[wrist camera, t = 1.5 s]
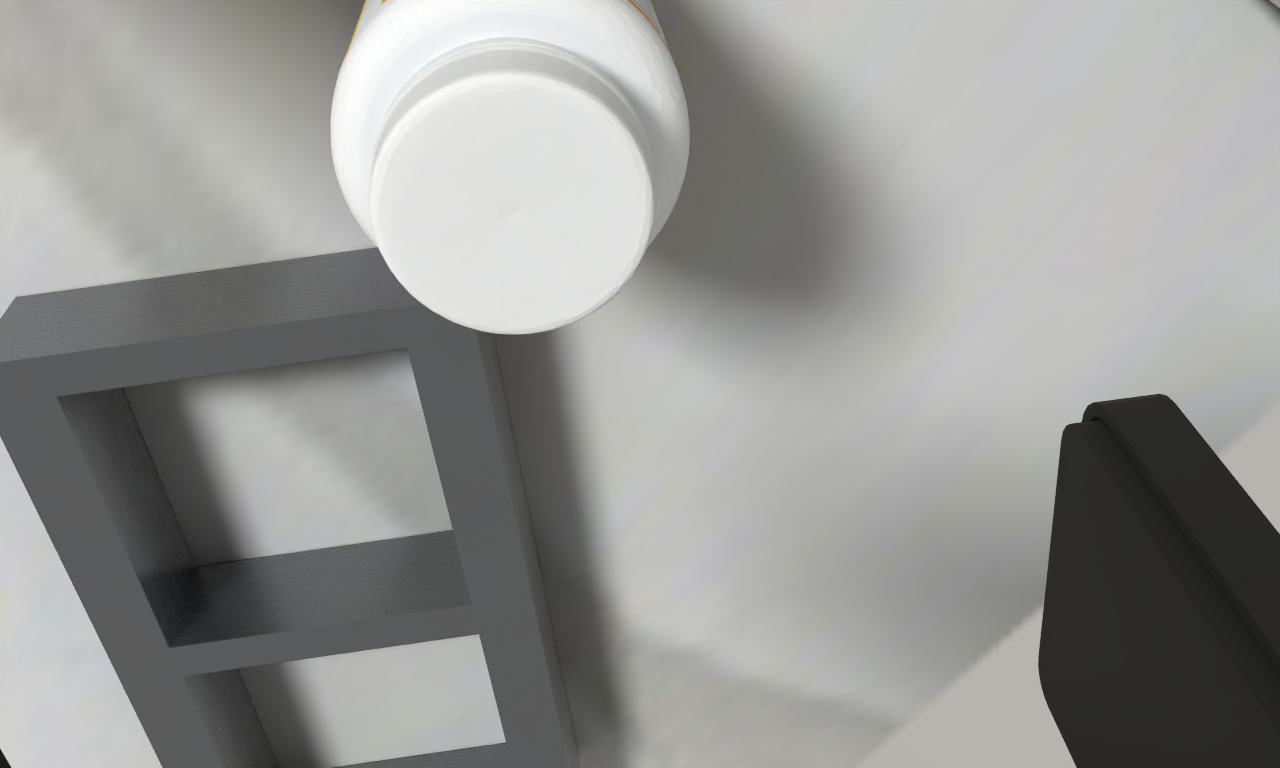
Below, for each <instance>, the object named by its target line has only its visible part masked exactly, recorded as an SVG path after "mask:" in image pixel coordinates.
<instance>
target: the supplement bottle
mask: <svg viewBox="0 0 1280 768" xmlns="http://www.w3.org/2000/svg"><path fill="white" fill-rule="evenodd" d="M330 131H331V150H332V158H333V163H334V168H335V172H336V176H337V179H338V182H339V185H340V188H341V190H342V193H343V195H344V198H345V200H346V202H347V204H348V206H349V209H350V211H351V213H352V214H353V216H354V217H355V219H356V220H357V222H358V223H359V225H360V226H361V228H362V229H363V231H364V232H365V233H366V234H367V236H368V237H369V238H370V239H371V241H372V242H373V243H374V244H375V245H376V246H377V247H378V248H379V250H380V252H381V254H382V256H383V258H384V260H385V261H386V263H387V265H388V267H389V268H390V270H391V271H392V273H393V274H394V275H395V277H396V278H397V280H398V281H399V282H400V283H401V284H402V285H403V286H404V288H405V289H406V290H407V291H408V292H409V293H410V294H411V295H412V296H413V297H414V298H416V299H417V300H418V301H419V302H421V303H422V304H423V305H425V306H426V307H428V308H429V309H430V310H432V311H433V312H435V313H437V314H439V315H441V316H443V317H445V318H446V319H448V320H450V321H452V322H454V323H457V324H460V325H463V326H466V327H469V328H473V329H476V330H480V331H484V332H490V333H496V334H533V333H539V332H545V331H549V330H553V329H557V328H560V327H563V326H567V325H569V324H571V323H574V322H576V321H578V320H581V319H583V318H584V317H586V316H588V315H590V314H591V313H593V312H595V311H596V310H598V309H599V308H601V307H602V306H604V305H605V304H606V303H607V302H609V301H610V300H611V299H612V298H613V297H614V296H615V295H616V294H617V293H619V292H620V291H621V289H622V288H623V287H624V286H625V285H626V283H627V282H628V281H629V280H630V278H631V277H632V275H633V273H634V272H635V271H636V269H637V268H638V266H639V265H640V263H641V260H642V258H643V256H644V254H645V252H646V249H647V247H648V246H649V245H650V244H651V243H652V241H653V240H654V239H655V238H656V236H657V235H658V234H659V232H660V231H661V229H662V228H663V226H664V225H665V223H666V222H667V220H668V218H669V216H670V214H671V212H672V211H673V209H674V206H675V204H676V202H677V200H678V197H679V193H680V191H681V187H682V184H683V181H684V178H685V173H686V168H687V164H688V157H689V147H690V127H689V117H688V108H687V104H686V99H685V95H684V91H683V87H682V83H681V80H680V77H679V74H678V71H677V68H676V65H675V63H674V60H673V58H672V55H671V53H670V50H669V48H668V45H667V42H666V40H665V37H664V34H663V31H662V29H661V26H660V23H659V21H658V18H657V16H656V13H655V11H654V8H653V5H652V2H651V0H365V2H364V4H363V7H362V10H361V13H360V16H359V19H358V21H357V24H356V27H355V30H354V33H353V35H352V38H351V41H350V44H349V46H348V49H347V52H346V54H345V57H344V60H343V63H342V65H341V68H340V71H339V74H338V78H337V82H336V86H335V90H334V95H333V102H332V110H331V123H330Z"/></svg>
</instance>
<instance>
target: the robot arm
mask: <svg viewBox="0 0 1280 768" xmlns="http://www.w3.org/2000/svg"><path fill="white" fill-rule="evenodd" d="M1269 1H1270V2H1272V3H1273V4H1274V5H1276V6H1277V7H1278V8H1280V0H1269ZM1038 665H1039V676H1040V681H1041V686H1042V690H1043V694H1044V697H1045V700H1046V702H1047V705H1048V707H1049V709H1050V711H1051V714H1052V715H1053V718H1054V720H1055V722H1056V724H1057V726H1058V728H1059V730H1060V733H1061V735H1062V737H1063V739H1064V741H1065V743H1066V746H1067V748H1068V750H1069V752H1070V754H1071V756H1072V758H1073V760H1074V763H1075V765H1076V767H1077V768H1280V534H1279V533H1278V532H1277V530H1276V529H1275V528H1274V527H1273V525H1272V524H1271V523H1270V521H1269V520H1268V519H1267V518H1266V516H1265V515H1264V514H1263V513H1262V512H1261V510H1260V509H1259V508H1258V506H1257V505H1256V504H1255V503H1254V502H1253V500H1252V499H1251V498H1250V496H1249V495H1248V494H1247V493H1246V491H1245V490H1244V489H1243V488H1242V486H1241V485H1240V484H1239V483H1238V481H1237V480H1236V479H1235V478H1234V476H1233V475H1232V474H1231V473H1230V471H1229V470H1228V469H1227V468H1226V466H1225V465H1224V464H1223V463H1222V461H1221V460H1220V459H1219V458H1218V456H1217V455H1216V454H1215V453H1214V451H1213V450H1212V449H1211V448H1210V446H1209V445H1208V444H1207V443H1206V441H1205V440H1204V439H1203V438H1202V436H1201V435H1200V434H1199V433H1198V431H1197V430H1196V429H1195V428H1194V426H1193V425H1192V424H1191V423H1190V421H1189V420H1188V419H1187V418H1186V416H1185V415H1184V414H1183V413H1182V411H1181V410H1180V409H1179V408H1178V406H1177V405H1176V404H1175V403H1174V402H1173V401H1172V400H1171V399H1170V398H1169V397H1168V396H1166V395H1162V394H1155V395H1147V396H1140V397H1132V398H1124V399H1117V400H1109V401H1102V402H1094V403H1092V404H1090V405H1088V406H1087V408H1086V410H1085V412H1084V414H1083V419H1082V422H1081V423H1073V424H1069V425H1067V426H1066V427H1065V429H1064V431H1063V435H1062V439H1061V448H1060V458H1059V467H1058V477H1057V486H1056V496H1055V505H1054V515H1053V524H1052V534H1051V543H1050V553H1049V563H1048V572H1047V582H1046V591H1045V601H1044V610H1043V620H1042V629H1041V639H1040V648H1039V663H1038ZM0 768H11V766H10V765H9V763H8V761H7V760H6V758H5V756H4V754H3V753H2V751H1V749H0Z"/></svg>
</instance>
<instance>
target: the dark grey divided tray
mask: <svg viewBox="0 0 1280 768" xmlns="http://www.w3.org/2000/svg"><path fill="white" fill-rule="evenodd" d="M402 348H407V349H408V352H409V356H410V360H411V364H412V368H413V372H414V376H415V380H416V384H417V388H418V392H419V396H420V400H421V404H422V408H423V412H424V416H425V420H426V424H427V428H428V432H429V436H430V440H431V444H432V448H433V452H434V456H435V460H436V464H437V468H438V472H439V476H440V480H441V484H442V488H443V492H444V496H445V500H446V504H447V508H448V512H449V516H450V520H451V524H452V528H453V530H452V531H445V532H438V533H431V534H424V535H417V536H410V537H403V538H396V539H389V540H382V541H374V542H367V543H360V544H353V545H346V546H339V547H332V548H325V549H318V550H311V551H304V552H297V553H290V554H283V555H276V556H269V557H261V558H254V559H247V560H240V561H233V562H226V563H219V564H212V565H205V566H198V567H196V566H195V564H194V562H193V559H192V557H191V554H190V552H189V549H188V547H187V545H186V542H185V540H184V537H183V535H182V532H181V530H180V528H179V525H178V523H177V520H176V518H175V515H174V513H173V511H172V508H171V506H170V503H169V501H168V498H167V496H166V494H165V491H164V489H163V486H162V484H161V481H160V479H159V476H158V474H157V472H156V469H155V467H154V464H153V462H152V459H151V457H150V455H149V452H148V450H147V447H146V445H145V442H144V440H143V438H142V435H141V433H140V430H139V428H138V425H137V423H136V421H135V418H134V416H133V413H132V411H131V408H130V406H129V404H128V401H127V399H126V396H125V394H124V391H123V389H122V387H129V386H136V385H144V384H151V383H158V382H165V381H172V380H179V379H187V378H194V377H201V376H208V375H215V374H223V373H230V372H237V371H244V370H251V369H258V368H266V367H273V366H280V365H287V364H294V363H302V362H309V361H316V360H323V359H330V358H337V357H345V356H352V355H359V354H366V353H373V352H381V351H388V350H395V349H402ZM0 437H1V439H2V441H3V443H4V445H5V447H6V449H7V451H8V453H9V455H10V457H11V459H12V461H13V463H14V465H15V467H16V469H17V471H18V473H19V475H20V477H21V479H22V481H23V483H24V486H25V488H26V490H27V492H28V494H29V496H30V498H31V500H32V502H33V504H34V506H35V508H36V510H37V512H38V514H39V516H40V518H41V520H42V522H43V524H44V526H45V528H46V530H47V532H48V534H49V537H50V539H51V541H52V543H53V545H54V547H55V549H56V551H57V553H58V555H59V557H60V559H61V561H62V563H63V565H64V567H65V569H66V571H67V573H68V575H69V577H70V579H71V581H72V583H73V586H74V588H75V590H76V592H77V594H78V596H79V598H80V600H81V602H82V604H83V606H84V608H85V610H86V612H87V614H88V616H89V618H90V620H91V622H92V624H93V626H94V628H95V630H96V632H97V634H98V637H99V639H100V641H101V643H102V645H103V647H104V649H105V651H106V653H107V655H108V657H109V659H110V661H111V663H112V665H113V667H114V669H115V671H116V673H117V675H118V677H119V679H120V681H121V683H122V686H123V688H124V690H125V692H126V694H127V696H128V698H129V700H130V702H131V704H132V706H133V708H134V710H135V712H136V714H137V716H138V718H139V720H140V722H141V724H142V726H143V728H144V730H145V732H146V735H147V737H148V739H149V741H150V743H151V745H152V747H153V749H154V751H155V753H156V755H157V757H158V759H159V761H160V763H161V765H162V767H163V768H278V766H277V764H276V761H275V759H274V756H273V754H272V751H271V749H270V746H269V744H268V742H267V739H266V737H265V734H264V732H263V729H262V727H261V725H260V722H259V720H258V717H257V715H256V712H255V710H254V708H253V705H252V703H251V700H250V698H249V695H248V693H247V691H246V688H245V686H244V683H243V681H242V678H241V676H240V674H239V671H238V668H245V667H252V666H259V665H266V664H273V663H280V662H287V661H294V660H301V659H308V658H315V657H322V656H329V655H336V654H343V653H350V652H357V651H364V650H371V649H378V648H385V647H392V646H399V645H406V644H413V643H420V642H427V641H434V640H441V639H448V638H455V637H462V636H469V635H476V634H479V635H480V639H481V643H482V647H483V651H484V655H485V659H486V663H487V667H488V671H489V675H490V679H491V683H492V687H493V691H494V695H495V699H496V703H497V707H498V711H499V715H500V719H501V723H502V727H503V731H504V735H505V739H506V743H503V744H496V745H489V746H482V747H475V748H469V749H462V750H455V751H448V752H441V753H434V754H427V755H420V756H413V757H406V758H399V759H392V760H385V761H378V762H371V763H365V764H358V765H351V766H344V767H337V768H579V754H578V749H577V744H576V739H575V735H574V730H573V725H572V720H571V715H570V710H569V705H568V700H567V695H566V691H565V686H564V681H563V676H562V671H561V666H560V661H559V656H558V651H557V646H556V642H555V637H554V632H553V627H552V622H551V617H550V612H549V607H548V602H547V598H546V593H545V588H544V583H543V578H542V573H541V568H540V563H539V558H538V553H537V549H536V544H535V539H534V534H533V529H532V524H531V519H530V514H529V509H528V505H527V500H526V495H525V490H524V485H523V480H522V475H521V470H520V465H519V460H518V456H517V451H516V446H515V441H514V436H513V431H512V426H511V421H510V416H509V412H508V407H507V402H506V397H505V392H504V387H503V382H502V377H501V372H500V367H499V363H498V358H497V353H496V348H495V343H494V338H493V333H490V332H484V331H480V330H476V329H473V328H469V327H466V326H463V325H460V324H457V323H454V322H452V321H450V320H448V319H446V318H445V317H443V316H441V315H439V314H437V313H435V312H433V311H432V310H430V309H429V308H428V307H426V306H425V305H423V304H422V303H421V302H419V301H418V300H417V299H416V298H414V297H413V296H412V295H411V294H410V293H409V292H408V291H407V290H406V289H405V288H404V286H403V285H402V284H401V283H400V282H399V281H398V280H397V278H396V277H395V275H394V274H393V273H392V271H391V270H390V268H389V267H388V265H387V263H386V261H385V260H384V258H383V256H382V254H381V252H380V250H379V248H370V249H363V250H356V251H349V252H341V253H334V254H327V255H320V256H312V257H305V258H298V259H291V260H283V261H276V262H269V263H262V264H254V265H247V266H240V267H233V268H225V269H218V270H211V271H204V272H196V273H189V274H182V275H175V276H167V277H160V278H153V279H146V280H138V281H131V282H124V283H117V284H109V285H102V286H95V287H88V288H80V289H73V290H66V291H59V292H51V293H44V294H37V295H30V296H22V297H16V298H15V299H14V300H13V302H12V303H11V305H10V306H9V307H8V309H7V310H6V312H5V313H4V315H3V316H2V317H1V319H0Z"/></svg>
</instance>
